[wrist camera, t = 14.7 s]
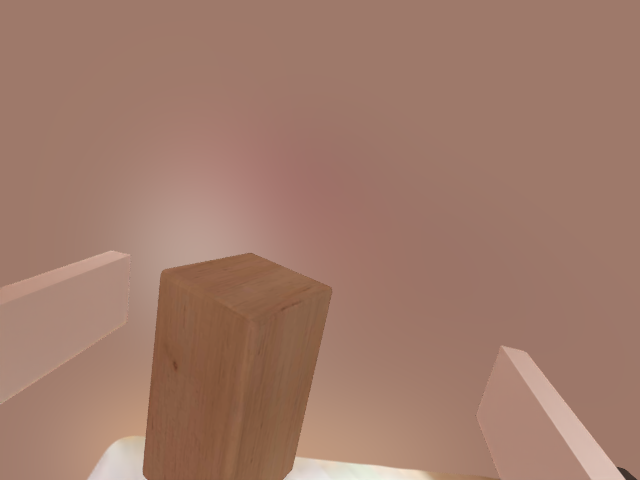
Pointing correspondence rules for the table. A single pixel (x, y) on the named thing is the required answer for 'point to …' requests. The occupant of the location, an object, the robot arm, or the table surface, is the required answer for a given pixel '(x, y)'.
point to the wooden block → (231, 369)
